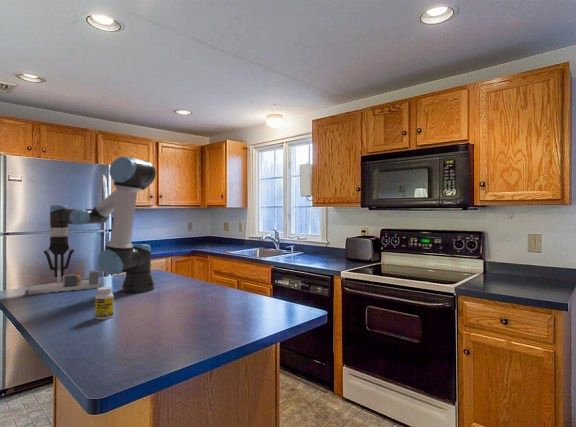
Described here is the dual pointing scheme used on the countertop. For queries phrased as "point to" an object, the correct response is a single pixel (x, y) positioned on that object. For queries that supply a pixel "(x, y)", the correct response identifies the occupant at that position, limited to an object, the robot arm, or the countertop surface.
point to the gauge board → (55, 287)
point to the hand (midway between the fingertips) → (59, 283)
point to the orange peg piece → (78, 277)
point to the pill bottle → (104, 303)
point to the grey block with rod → (71, 279)
